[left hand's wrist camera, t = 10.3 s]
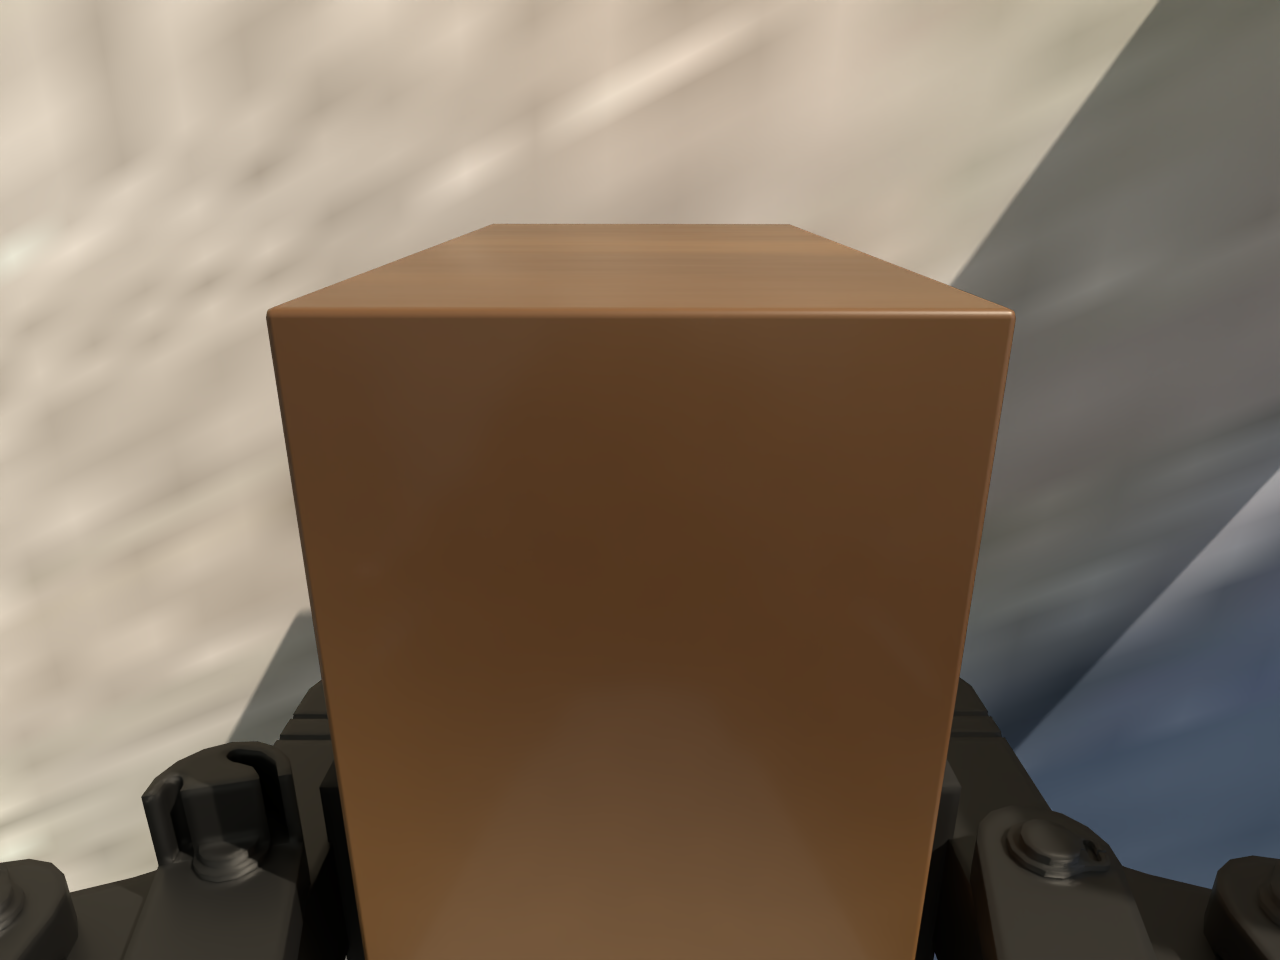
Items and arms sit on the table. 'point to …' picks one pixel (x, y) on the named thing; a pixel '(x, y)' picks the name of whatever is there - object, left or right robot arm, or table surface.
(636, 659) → the beam
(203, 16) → the table surface
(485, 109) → the table surface
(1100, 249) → the table surface
